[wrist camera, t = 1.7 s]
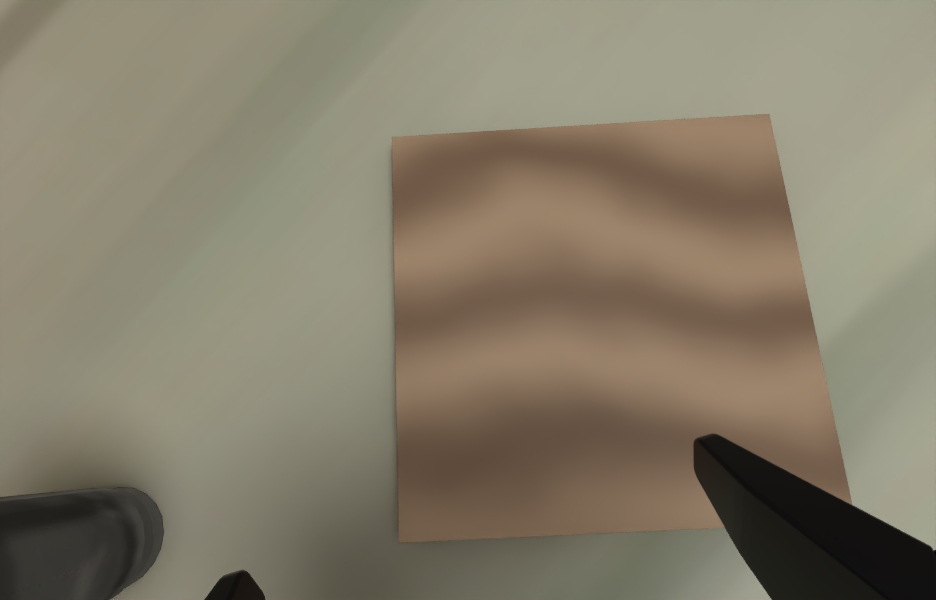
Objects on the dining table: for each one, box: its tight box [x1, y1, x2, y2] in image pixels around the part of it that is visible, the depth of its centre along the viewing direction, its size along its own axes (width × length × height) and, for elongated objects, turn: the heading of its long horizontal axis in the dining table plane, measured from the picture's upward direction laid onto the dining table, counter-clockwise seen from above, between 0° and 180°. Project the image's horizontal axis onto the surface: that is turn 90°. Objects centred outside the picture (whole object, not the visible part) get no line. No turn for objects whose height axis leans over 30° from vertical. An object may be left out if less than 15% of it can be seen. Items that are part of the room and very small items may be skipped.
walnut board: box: [392, 114, 852, 543], centre depth 24 cm, size 20×20×1 cm
